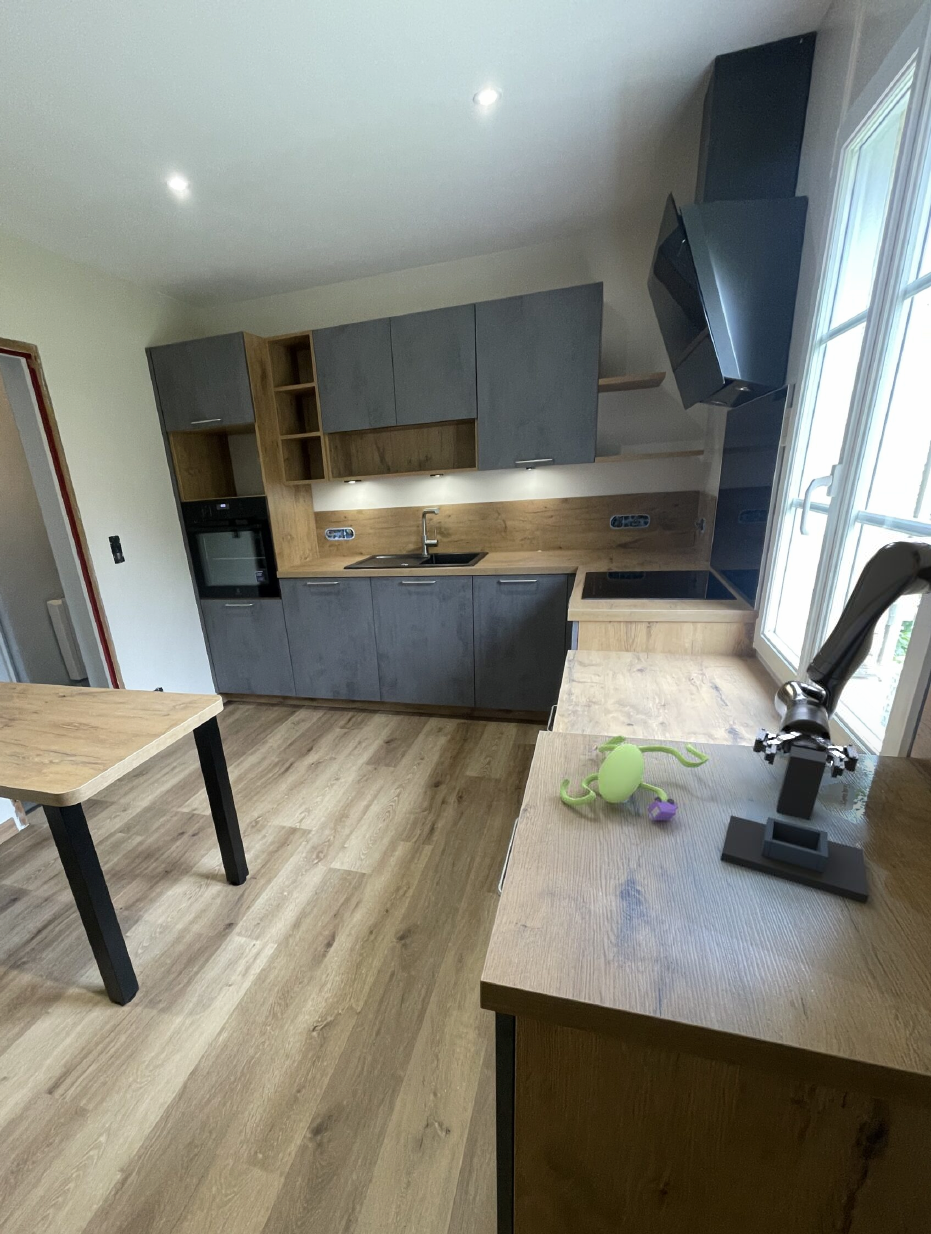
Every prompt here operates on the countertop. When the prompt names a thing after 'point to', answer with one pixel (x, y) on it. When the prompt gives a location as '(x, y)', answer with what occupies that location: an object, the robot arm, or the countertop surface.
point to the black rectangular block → (801, 782)
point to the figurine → (630, 776)
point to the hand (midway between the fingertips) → (802, 765)
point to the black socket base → (796, 856)
